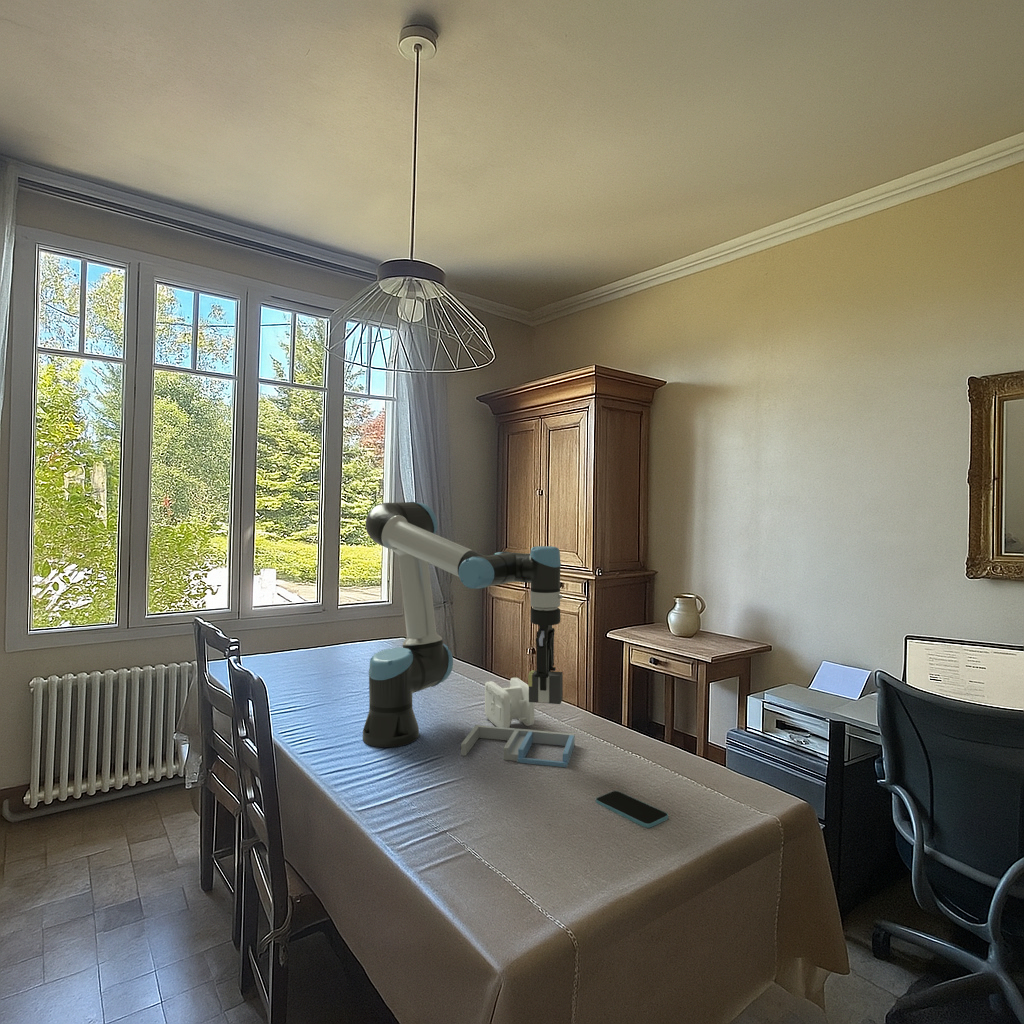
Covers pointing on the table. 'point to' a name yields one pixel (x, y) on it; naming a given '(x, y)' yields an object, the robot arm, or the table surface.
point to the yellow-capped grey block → (554, 687)
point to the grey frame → (522, 743)
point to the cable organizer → (508, 703)
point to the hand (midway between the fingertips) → (545, 699)
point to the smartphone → (632, 809)
